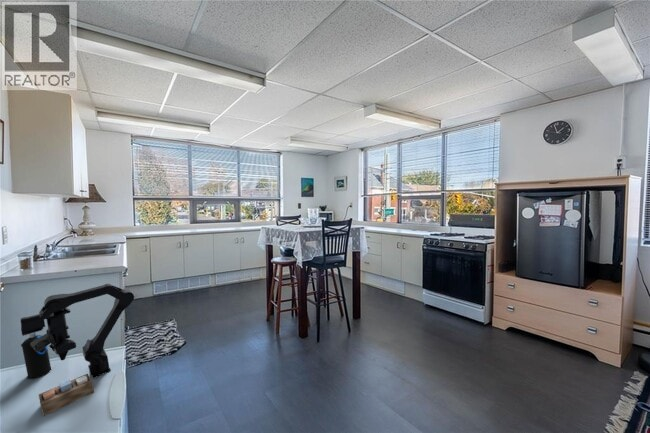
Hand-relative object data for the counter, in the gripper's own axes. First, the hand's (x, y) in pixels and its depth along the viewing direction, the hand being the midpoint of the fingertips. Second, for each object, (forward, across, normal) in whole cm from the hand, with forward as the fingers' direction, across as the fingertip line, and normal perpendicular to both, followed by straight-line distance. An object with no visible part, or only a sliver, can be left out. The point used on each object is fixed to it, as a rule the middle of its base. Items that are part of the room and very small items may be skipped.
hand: (63, 359), depth 125 cm
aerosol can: (+12, -22, -5) cm, 25 cm away
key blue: (+9, +11, -2) cm, 14 cm away
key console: (+12, +11, -2) cm, 16 cm away
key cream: (+10, +11, +3) cm, 15 cm away
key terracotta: (+10, +10, -7) cm, 16 cm away
